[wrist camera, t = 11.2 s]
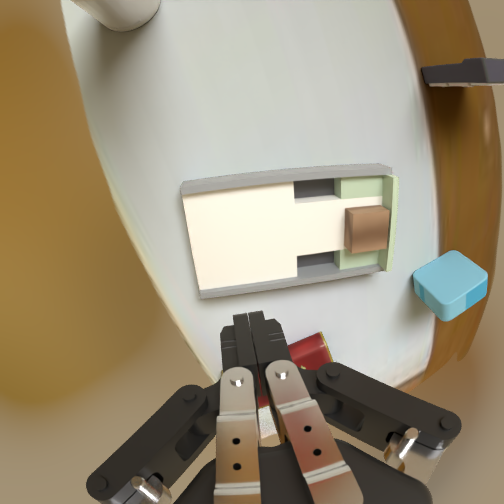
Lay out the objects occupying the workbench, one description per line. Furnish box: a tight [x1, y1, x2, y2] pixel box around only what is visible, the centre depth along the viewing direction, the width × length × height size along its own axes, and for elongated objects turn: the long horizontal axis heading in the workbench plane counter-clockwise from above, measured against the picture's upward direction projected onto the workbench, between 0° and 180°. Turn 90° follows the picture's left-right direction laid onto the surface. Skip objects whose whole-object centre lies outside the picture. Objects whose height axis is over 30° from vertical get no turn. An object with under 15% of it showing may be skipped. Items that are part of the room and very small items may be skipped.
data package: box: [413, 250, 488, 321], centre depth 48 cm, size 12×4×12 cm, turn 114°
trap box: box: [180, 163, 399, 299], centre depth 44 cm, size 17×30×6 cm, turn 95°
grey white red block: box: [422, 58, 504, 87], centre depth 31 cm, size 11×4×15 cm, turn 108°
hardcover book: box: [221, 332, 333, 409], centre depth 58 cm, size 12×21×4 cm, turn 113°
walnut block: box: [344, 205, 390, 254], centre depth 43 cm, size 6×6×3 cm
